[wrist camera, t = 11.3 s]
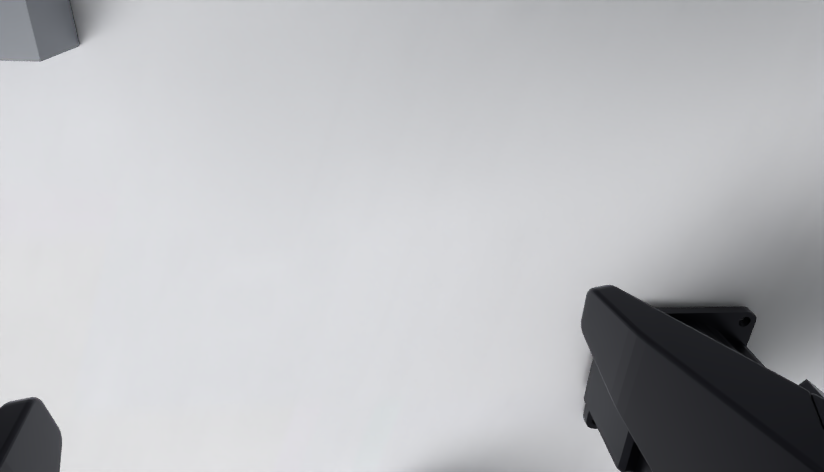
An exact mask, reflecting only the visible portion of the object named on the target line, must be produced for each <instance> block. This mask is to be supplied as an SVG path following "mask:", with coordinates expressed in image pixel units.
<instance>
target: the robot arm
mask: <svg viewBox="0 0 824 472" xmlns="http://www.w3.org/2000/svg"><path fill="white" fill-rule="evenodd" d="M742 318H743V319H742ZM741 319H742V320H741ZM740 320H741V321H740ZM755 322H756V316H755V314H754V313H753V312H752V311H751V310H750V309H748V308H747V307H696V308H654V307H653V306H651V305H649V304H647V303H645V302H643V301H641V300H640V299H638V298H636V297H634V296H632V295H630V294H628V293H627V292H625V291H623V290H621V289H619V288H617V287H615V286H613V285H605V286H600V287H594V288H591V289H590V290H589V291H588V292H587V295H586V300H585V305H584V310H583V315H582V319H581V328H582V332H583V335H584V337H585V340H586V342H587V344H588V346H589V349H590V351H591V353H592V356H593V361H592V365H591V370H590V374H589V378H588V383H587V387H586V391H585V396H584V401H585V403H586V405H585V410H584V414H583V418H584V420H585V422H586V424H587V426H588V427H589V428H593V429H598V430H599V432H600V434H601V436H602V438H603V440H604V442H605V444H606V447H607V449H608V451H609V453H610V455H611V457H612V459H613V461H614V463H615V465H616V467H617V468H618V469H619V470H620V471H621V472H824V393H823V392H821V391H820V390H819V389H818V388H817V387H816V386H814V385H813V384H812V383H811V382H810V381H808V380H807V379H806V380H805V381H804V382H802V383H801V384H799V385H797V384H795V383H793V382H792V381H790V380H788V379H786V378H784V377H782V376H780V375H779V374H777V373H775V372H773V371H771V370H769V369H767V368H766V367H765V366H764V365H763V364H762V363H761V362H760V361H759V360H758V359H757V358H756V357H755V355H754V354H753V353H752V352H751V351H750V350H749V349H748V348H747V347H746V346H747V343H748V341H749V338H750V335H751V333H752V330H753V328H754V325H755ZM61 450H62V437H61V432H60V430H59V427H58V426H57V424H56V423H55V421H54V419H53V418H52V416H51V415H50V413H49V412H48V410H47V408H46V407H45V405H44V404H43V402H42V401H41V400H40V399H38V398H36V397H30V398H25V399H20V400H15V401H10V402H8V403H6V404H4V405H3V406H2V407H1V408H0V472H60V461H61Z"/></svg>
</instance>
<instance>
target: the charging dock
mask: <svg viewBox="0 0 824 472" xmlns="http://www.w3.org/2000/svg"><path fill="white" fill-rule="evenodd" d="M78 46H79V41H78V37H77V32H76V28H75V23H74V19H73V14H72V9H71V5H70V0H0V61H43V60H46V59H48V58H51V57H53V56H56V55H58V54H61V53H63V52H66V51H68V50H71V49H73V48H76V47H78Z"/></svg>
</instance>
